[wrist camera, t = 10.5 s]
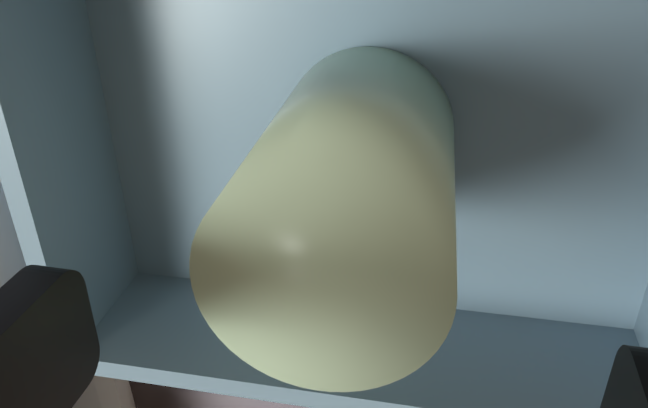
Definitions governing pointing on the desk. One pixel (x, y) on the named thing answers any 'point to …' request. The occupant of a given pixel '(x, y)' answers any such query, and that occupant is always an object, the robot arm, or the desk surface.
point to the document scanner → (7, 259)
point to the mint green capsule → (338, 230)
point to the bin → (254, 117)
